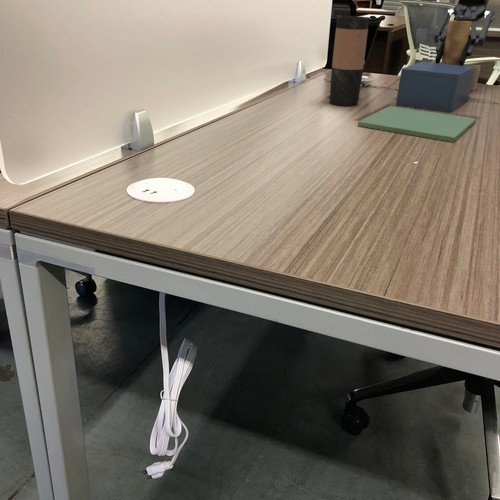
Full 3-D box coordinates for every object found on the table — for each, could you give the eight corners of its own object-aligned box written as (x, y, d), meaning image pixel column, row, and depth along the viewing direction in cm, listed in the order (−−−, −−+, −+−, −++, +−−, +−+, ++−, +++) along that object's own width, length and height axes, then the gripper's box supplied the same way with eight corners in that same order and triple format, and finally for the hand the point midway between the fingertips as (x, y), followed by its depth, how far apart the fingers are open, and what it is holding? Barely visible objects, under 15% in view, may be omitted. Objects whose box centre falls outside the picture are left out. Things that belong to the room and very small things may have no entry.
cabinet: (415, 94, 141) (421, 61, 137) (466, 101, 135) (474, 66, 131) (395, 104, 129) (401, 68, 125) (451, 112, 122) (459, 74, 118)
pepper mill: (459, 87, 142) (475, 15, 133) (454, 90, 138) (470, 15, 129) (439, 85, 144) (453, 13, 136) (434, 87, 140) (448, 14, 132)
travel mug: (364, 105, 127) (376, 18, 117) (338, 107, 124) (347, 17, 115) (348, 99, 133) (358, 16, 123) (323, 101, 130) (331, 15, 121)
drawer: (434, 83, 153) (439, 59, 150) (478, 89, 147) (483, 64, 144) (414, 93, 138) (419, 66, 135) (462, 99, 132) (468, 72, 129)
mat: (475, 123, 113) (476, 118, 113) (453, 142, 98) (454, 137, 98) (389, 110, 123) (389, 106, 122) (357, 126, 108) (357, 121, 107)
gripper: (511, 6, 138) (485, 76, 134) (442, 3, 147) (415, 68, 143) (513, -16, 132) (486, 56, 127) (441, -18, 141) (413, 50, 136)
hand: (448, 63), depth 135 cm, fingers closed on pepper mill, 6 cm apart
